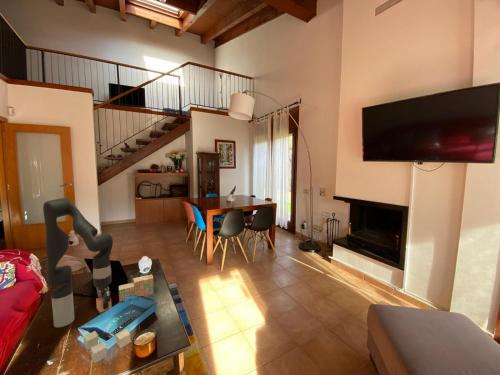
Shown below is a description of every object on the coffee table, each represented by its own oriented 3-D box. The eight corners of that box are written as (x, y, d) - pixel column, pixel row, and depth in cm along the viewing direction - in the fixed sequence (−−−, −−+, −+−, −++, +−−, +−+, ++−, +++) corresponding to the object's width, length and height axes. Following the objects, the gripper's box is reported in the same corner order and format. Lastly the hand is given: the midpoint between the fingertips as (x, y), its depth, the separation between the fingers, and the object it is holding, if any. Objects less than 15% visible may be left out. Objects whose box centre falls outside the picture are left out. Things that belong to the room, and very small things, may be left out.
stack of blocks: (119, 303, 147) (118, 286, 145) (119, 298, 152) (118, 281, 151) (154, 294, 158) (153, 277, 156) (152, 289, 163) (152, 273, 162)
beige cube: (91, 357, 106) (90, 348, 105) (103, 350, 110) (102, 341, 109) (94, 363, 103) (94, 353, 102) (106, 356, 107) (106, 347, 106)
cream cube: (116, 343, 114) (115, 334, 114) (126, 337, 118) (126, 329, 118) (120, 348, 111) (119, 339, 111) (130, 342, 115) (130, 333, 115)
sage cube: (84, 345, 113) (83, 336, 112) (95, 339, 117) (95, 330, 116) (87, 350, 110) (86, 341, 109) (99, 344, 114) (98, 335, 113)
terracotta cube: (96, 308, 111) (96, 299, 111) (107, 303, 115) (107, 294, 115) (100, 312, 108) (99, 303, 108) (111, 307, 112) (111, 298, 112)
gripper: (88, 272, 111) (90, 304, 113) (98, 282, 102) (100, 316, 104) (105, 267, 117) (107, 297, 119) (116, 276, 108) (117, 308, 110)
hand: (104, 306), depth 112 cm, fingers closed on terracotta cube, 5 cm apart
